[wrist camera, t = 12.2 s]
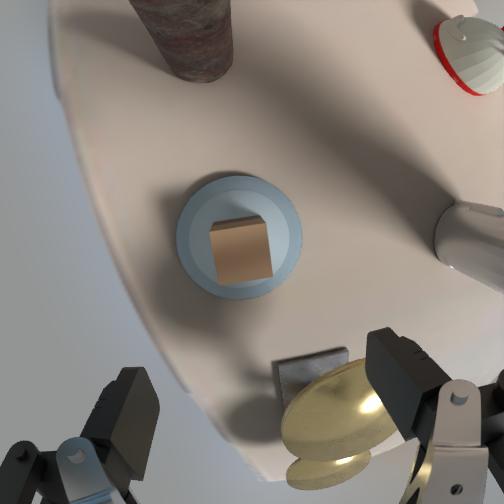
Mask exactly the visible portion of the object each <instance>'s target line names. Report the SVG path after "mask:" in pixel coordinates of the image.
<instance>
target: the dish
mask: <svg viewBox="0 0 504 504" xmlns="http://www.w3.org/2000/svg"><path fill="white" fill-rule="evenodd" d="M255 215H260V216H261V217H262V218H263V220H264V221H265V222H266V225H267V232H268V240H269V247H270V255H271V263H272V271H273V277H270V278H264V279H258V280H251V281H245V282H239V283H232V284H225V285H219V283H218V278H217V272H216V267H215V262H214V256H213V251H212V245H211V239H210V234H209V231H210V229H211V227H212V224H213V222H216V221H223V220H229V219H235V218H242V217H249V216H255ZM176 246H177V252H178V255H179V258H180V261H181V263H182V265H183V267H184V269H185V270H186V272H187V274H188V275H189V276H190V277H191V278H192V280H193V281H194V282H195V283H197V284H198V285H199V286H200V287H202V288H203V289H204V290H206V291H208V292H210V293H212V294H214V295H217V296H219V297H223V298H227V299H250V298H254V297H258V296H261V295H264V294H266V293H268V292H270V291H272V290H273V289H275V288H276V287H277V286H279V285H280V284H281V283H282V282H283V281H284V280H285V279H286V278H287V277H288V276H289V275H290V273H291V272H292V270H293V269H294V267H295V265H296V263H297V261H298V258H299V255H300V252H301V247H302V228H301V223H300V219H299V216H298V213H297V211H296V209H295V208H294V206H293V204H292V203H291V201H290V200H289V199H288V198H287V196H286V195H285V194H284V193H283V192H282V191H280V190H279V189H278V188H277V187H275V186H273V185H272V184H270V183H268V182H266V181H264V180H262V179H258V178H255V177H250V176H229V177H224V178H221V179H218V180H215V181H213V182H211V183H209V184H207V185H205V186H204V187H202V188H201V189H200V190H198V191H197V192H196V193H195V194H194V195H193V196H192V197H191V198H190V200H189V201H188V202H187V204H186V205H185V207H184V209H183V211H182V213H181V215H180V218H179V221H178V225H177V230H176Z"/></svg>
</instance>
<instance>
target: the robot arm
mask: <svg viewBox="0 0 504 504" xmlns="http://www.w3.org/2000/svg"><path fill="white" fill-rule="evenodd" d="M434 244H435V251H436V254H437V256H438V258H439V260H440V261H441V262H442V263H443V264H445V265H447V266H449V267H451V268H452V269H455V270H457V271H459V272H461V273H463V274H465V275H467V276H469V277H471V278H473V279H475V280H477V281H479V282H481V283H483V284H485V285H487V286H489V287H491V288H493V289H495V290H496V291H498V292H500V293H502V294H504V211H503V210H502V209H501V208H498V207H493V206H488V205H483V204H478V203H472V202H467V201H461V200H455V202H454V204H453V206H451V207H450V208H448V209H447V210H446V211H445V212H444V213H443V214H442V216H441V217H440V219H439V221H438V223H437V227H436V230H435V237H434ZM365 372H366V376H367V379H368V381H369V383H370V384H371V386H372V388H373V389H374V391H375V392H376V394H377V396H378V397H379V399H380V400H381V402H382V404H383V405H384V407H385V409H386V410H387V412H388V413H389V415H390V417H391V418H392V420H393V422H394V423H395V425H396V427H397V428H398V430H399V432H400V433H401V435H402V437H403V438H404V440H405V442H406V441H409V440H411V439H413V438H415V437H417V438H418V440H419V441H420V442H419V445H418V448H417V452H416V456H415V460H414V463H413V467H412V470H411V473H410V477H409V480H408V483H407V486H406V489H405V492H404V494H403V496H402V498H401V500H400V502H399V504H483V500H484V494H485V487H486V479H487V469H488V468H489V470H490V471H491V473H492V474H493V476H494V478H495V479H496V481H497V483H498V484H499V486H500V488H501V489H502V491H503V493H504V370H502V371H501V372H500V374H499V376H498V379H497V381H496V383H493V384H489V385H485V386H481V387H477V386H476V385H475V384H473V383H472V382H470V381H467V380H462V379H456V380H452V379H451V378H450V377H449V376H448V375H447V374H446V373H445V372H444V371H443V370H442V369H441V368H440V367H439V365H438V364H437V363H436V362H435V361H434V360H433V359H432V358H431V357H430V358H429V355H428V354H427V353H426V352H425V351H423V349H422V348H421V347H420V346H419V345H418V344H417V343H416V342H415V341H412V340H410V339H408V338H406V337H404V336H402V337H398V336H397V335H396V333H395V332H394V331H393V330H392V329H391V328H389V327H386V328H382V329H379V330H375V331H371V332H369V333H368V335H367V346H366V359H365ZM159 411H160V405H159V400H158V397H157V394H156V392H155V390H154V388H153V386H152V383H151V381H150V379H149V376H148V374H147V372H146V370H145V368H144V367H124V368H122V370H121V371H120V374H119V375H118V377H117V379H116V381H112V382H110V383H109V384H108V385H107V386H106V387H105V388H104V389H103V391H102V393H101V395H100V397H99V401H97V402H96V405H95V409H93V410H92V413H91V414H90V416H89V418H88V420H87V422H86V425H85V426H84V429H83V431H82V433H81V435H80V437H74V438H70V439H68V440H66V441H64V442H63V443H62V444H61V445H60V446H59V448H58V449H57V451H45V452H40V451H39V450H38V449H37V447H36V446H35V445H34V444H33V443H32V442H30V441H20V442H17V443H15V444H14V445H13V446H12V447H11V448H10V449H9V451H8V453H7V455H6V457H5V459H4V461H3V463H2V465H1V466H0V504H31V503H32V500H33V497H34V495H35V492H36V491H37V492H38V493H39V494H40V495H41V496H43V497H42V500H41V503H40V504H140V502H139V501H138V499H137V498H136V496H135V495H134V493H133V491H132V490H131V488H130V487H129V485H130V480H138V481H143V478H144V473H145V469H146V465H147V461H148V456H149V452H150V448H151V444H152V440H153V436H154V431H155V427H156V424H157V420H158V416H159Z"/></svg>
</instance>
